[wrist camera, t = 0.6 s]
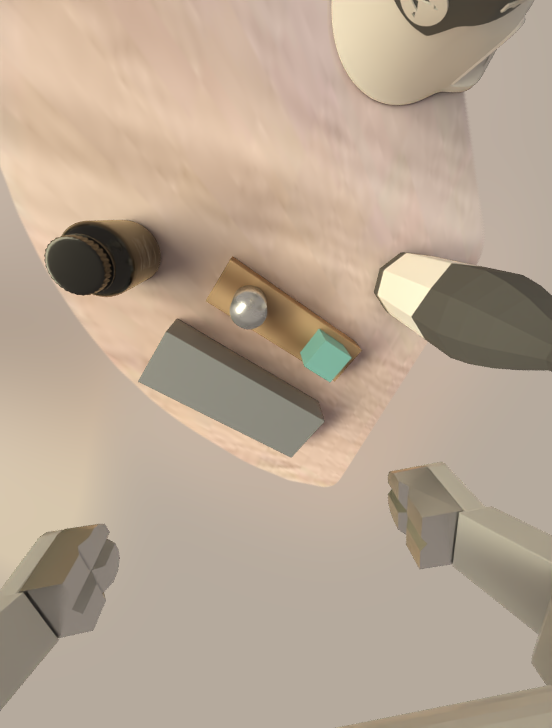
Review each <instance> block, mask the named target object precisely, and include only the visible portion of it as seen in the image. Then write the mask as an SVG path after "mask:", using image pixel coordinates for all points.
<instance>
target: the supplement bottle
mask: <svg viewBox="0 0 552 728" xmlns="http://www.w3.org/2000/svg"><path fill="white" fill-rule="evenodd" d="M45 251H46V253H45V255H44V256H45V263H46V268H47V269H48V273H49V274H50V275H51V278H52V279H54V281H55V282H56V283H57V284H59V286H60V287H61V288H64V289H65V290H66V291H69V292H70V293H75V294H77V295H83V296H84V295H91V294H93V295H96V296H101V297H112V296H116V295H119V294H121V293H123V292H125V291H127V290H129V289H131V288H133V287H135V286H137V285H138V284H140V283H142V282H144V281H146V280H147V279H149V278H151V277H152V276H153V275H154V274H155V273H156V271H157V270H158V268H159V265H160V260H161V254H160V249H159V246H158V243H157V241H156V239H155V238H154V236H153V235H152V234H151V233H150V232H149V231H148V230H147V229H146V228H145V227H143V226H142V225H140V224H138V223H136V222H133V221H128V220H97V221H82V222H78V223H75V224H73V225H71V226H70V227H68V228H67V229H66V230H65V231H64V233H63V234H62V236H61V237H58V238H55V240H52V241H51V243H50V244H48V246H47V248H46V250H45Z"/></svg>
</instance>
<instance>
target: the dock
mask: <svg viewBox="0 0 552 728" xmlns="http://www.w3.org/2000/svg"><path fill="white" fill-rule="evenodd" d="M138 382H140V383H142V384H144V385H146V386H148V387H150V388H152V389H154V390H156V391H158V392H160V393H162V394H164V395H166V396H168V397H170V398H172V399H174V400H176V401H178V402H180V403H182V404H184V405H186V406H188V407H190V408H192V409H194V410H196V411H198V412H200V413H202V414H204V415H206V416H208V417H210V418H212V419H214V420H216V421H218V422H220V423H222V424H224V425H226V426H228V427H230V428H233V429H235V430H237V431H239V432H241V433H243V434H245V435H247V436H249V437H251V438H253V439H255V440H257V441H259V442H261V443H263V444H265V445H267V446H269V447H271V448H273V449H275V450H277V451H279V452H281V453H283V454H285V455H287V456H289V457H292V456H293V455H294V454H295V453H296V452H297V451H298V450H299V449H300V448H301V447H302V445H303V444H304V443H305V442H306V441H307V440H308V439H309V438H310V437H311V436H312V435H313V433H314V432H315V431H316V430H317V429H318V428H319V427H320V426H321V425H322V424H323V423H324V418H323V415H322V411H321V408H320V405H319V402H318V401H317V400H315V399H313V398H311V397H310V396H308V395H306V394H305V393H303V392H301V391H300V390H298V389H296V388H294V387H293V386H291V385H289V384H288V383H286V382H284V381H282V380H281V379H279V378H277V377H276V376H274V375H272V374H271V373H269V372H267V371H265V370H264V369H262V368H260V367H259V366H257V365H255V364H253V363H252V362H250V361H248V360H247V359H245V358H243V357H242V356H240V355H238V354H236V353H235V352H233V351H231V350H230V349H228V348H226V347H224V346H223V345H221V344H219V343H218V342H216V341H214V340H213V339H211V338H209V337H207V336H206V335H204V334H202V333H201V332H199V331H197V330H195V329H194V328H192V327H190V326H189V325H187V324H185V323H184V322H182V321H180V320H178V319H176V320H175V322H174V323H173V324H172V325H171V326H170V328H169V329H168V330H167V331H166V333H165V335H164V336H163V338H162V340H161V342H160V343H159V345H158V347H157V349H156V351H155V352H154V354H153V356H152V358H151V359H150V361H149V363H148V365H147V366H146V368H145V370H144V372H143V374H142V375H141V377H140V379H139V381H138Z"/></svg>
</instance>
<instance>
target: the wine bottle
mask: <svg viewBox="0 0 552 728" xmlns="http://www.w3.org/2000/svg"><path fill="white" fill-rule="evenodd" d="M374 293H375V295H376V296H377V298H378V299H379V301H380V302H381V304H382V306H383V307H384V309H385V310H386V311H387V312H388V313H389V314H390V315H392V316H393V317H395V318H396V319H397V320H399V321H400V322H402V323H403V324H404V325H406V326H407V327H409V328H410V329H411V330H413V331H414V332H416V333H417V334H418V335H420V336H421V337H423V338H424V339H425V340H427V341H428V342H430V343H431V344H432V345H434V346H435V347H437V348H438V349H439V350H441V351H442V352H444V353H445V354H446V355H448V356H449V357H450V358H453V359H456V360H459V361H463V362H465V363H468V364H473V365H479V366H484V367H490V368H499V369H512V370H549V371H552V295H550V294H549V293H548V292H547V291H546V290H545V289H544V288H543V287H542V286H540V285H539V284H537V283H535V282H534V281H532V280H530V279H529V278H527V277H525V276H523V275H520V274H515V273H510V272H506V271H500V270H496V269H491V268H486V267H482V266H477V265H472V264H467V263H462V262H458V261H453V260H448V259H443V258H438V257H434V256H428V255H420V254H412V253H400V254H399V255H397V256H396V257H395V258H393V259H392V260H391V261H389V262H388V263H387V264H385V265H384V266H383V267H381V268H380V271H379V274H378V278H377V282H376V286H375V290H374Z"/></svg>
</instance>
